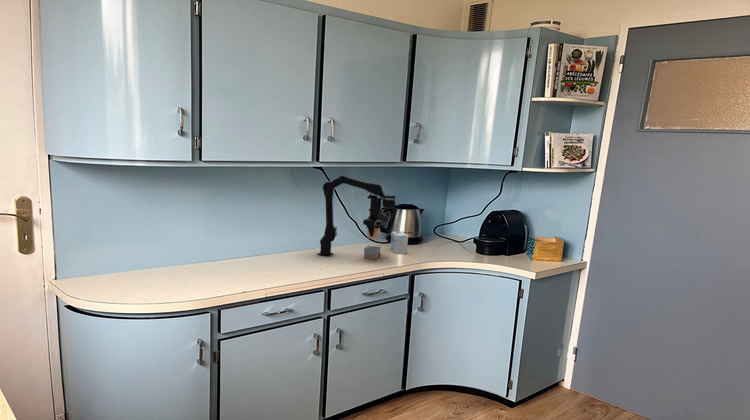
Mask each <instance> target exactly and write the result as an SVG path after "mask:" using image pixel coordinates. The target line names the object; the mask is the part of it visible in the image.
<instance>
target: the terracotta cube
mask: <svg viewBox="0 0 750 420" xmlns="http://www.w3.org/2000/svg"><path fill="white" fill-rule="evenodd" d="M380 235H381V228H380V227H379V228H375V229H374V234H373V237H371V236H370V233H369V231H368V230H367V239H371V240H372V239H373V240H378V239H380Z"/></svg>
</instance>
